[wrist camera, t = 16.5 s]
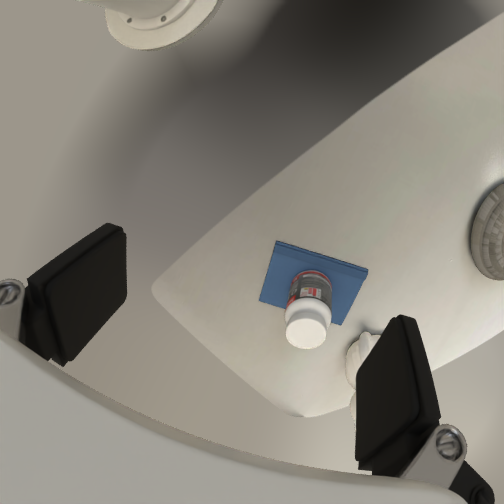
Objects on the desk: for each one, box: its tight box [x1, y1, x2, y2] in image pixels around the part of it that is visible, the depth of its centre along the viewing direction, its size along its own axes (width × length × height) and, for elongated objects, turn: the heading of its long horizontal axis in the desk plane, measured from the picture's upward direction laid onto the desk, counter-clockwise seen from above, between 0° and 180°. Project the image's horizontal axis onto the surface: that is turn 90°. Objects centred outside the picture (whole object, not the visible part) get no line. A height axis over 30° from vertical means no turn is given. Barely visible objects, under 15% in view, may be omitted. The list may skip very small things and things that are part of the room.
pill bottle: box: [285, 270, 332, 349], centre depth 37 cm, size 6×6×10 cm
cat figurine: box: [345, 332, 381, 432], centre depth 38 cm, size 9×12×15 cm
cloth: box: [259, 241, 368, 325], centre depth 41 cm, size 13×10×1 cm
